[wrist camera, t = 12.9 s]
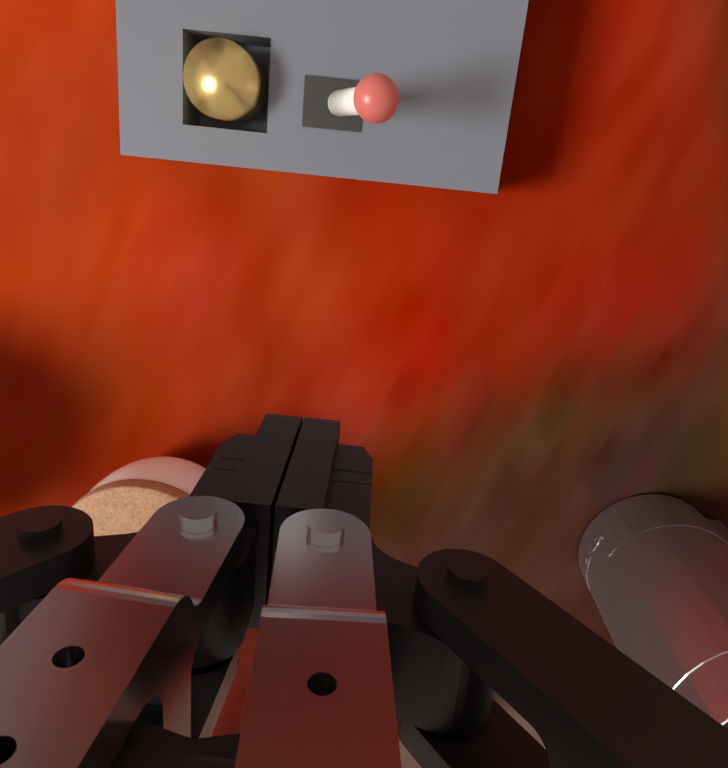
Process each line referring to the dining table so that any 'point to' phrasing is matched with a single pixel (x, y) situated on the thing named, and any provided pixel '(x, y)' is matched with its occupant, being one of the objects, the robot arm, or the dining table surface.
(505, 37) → the panel
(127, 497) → the lidded jar
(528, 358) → the dining table surface
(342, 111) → the toggle lever
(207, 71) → the button brass
